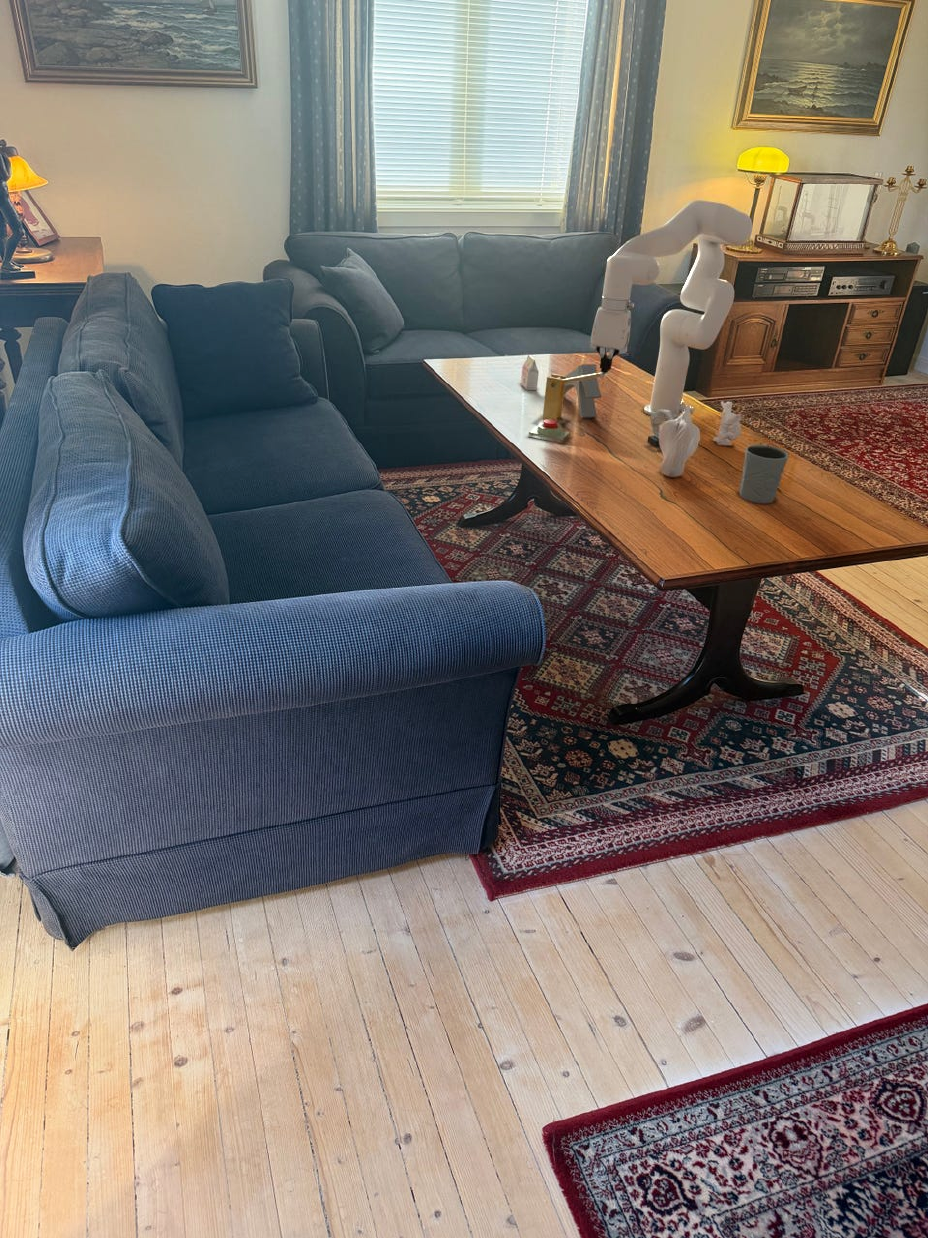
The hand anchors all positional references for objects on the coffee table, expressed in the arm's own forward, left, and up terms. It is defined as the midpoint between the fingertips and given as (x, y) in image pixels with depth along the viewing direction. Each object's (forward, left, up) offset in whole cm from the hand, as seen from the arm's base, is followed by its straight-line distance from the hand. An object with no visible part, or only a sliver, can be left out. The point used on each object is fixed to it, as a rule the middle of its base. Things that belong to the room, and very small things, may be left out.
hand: (604, 371), depth 239 cm
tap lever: (+7, 0, -4) cm, 8 cm away
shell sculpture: (-28, +23, -18) cm, 40 cm away
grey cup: (-50, +26, -18) cm, 59 cm away
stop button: (+10, +14, -15) cm, 23 cm away
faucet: (+13, -17, -18) cm, 28 cm away
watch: (-20, +4, -18) cm, 27 cm away
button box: (+10, +14, -18) cm, 25 cm away
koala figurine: (-36, -11, -18) cm, 41 cm away
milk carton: (+33, -32, -18) cm, 49 cm away
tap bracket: (+14, 0, -18) cm, 23 cm away
